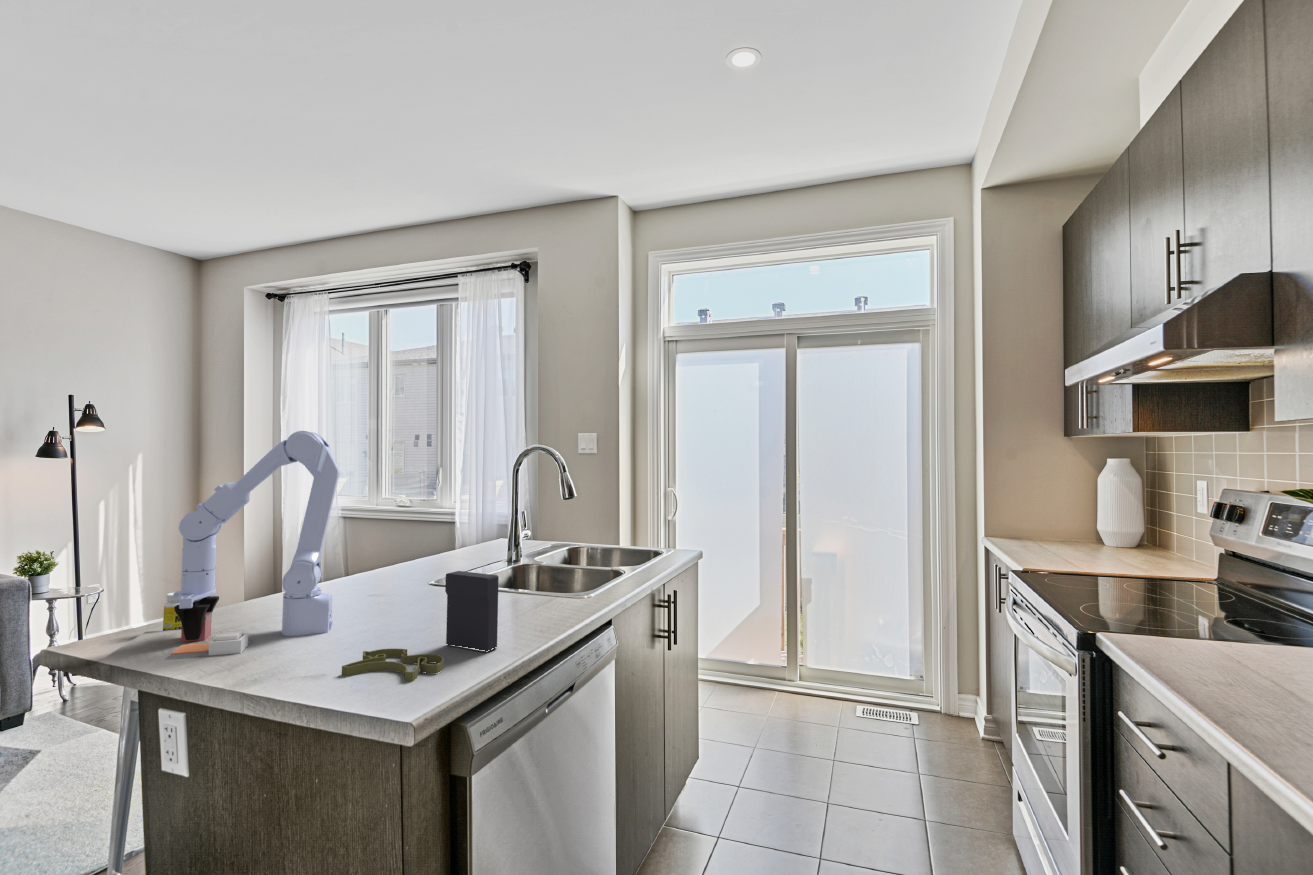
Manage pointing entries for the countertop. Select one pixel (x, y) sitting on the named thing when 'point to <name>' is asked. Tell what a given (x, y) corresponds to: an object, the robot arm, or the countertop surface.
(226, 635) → the button
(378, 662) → the cookie cutter
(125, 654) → the countertop surface
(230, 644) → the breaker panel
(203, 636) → the block
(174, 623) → the supplement bottle
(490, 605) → the charcoal upright slab
